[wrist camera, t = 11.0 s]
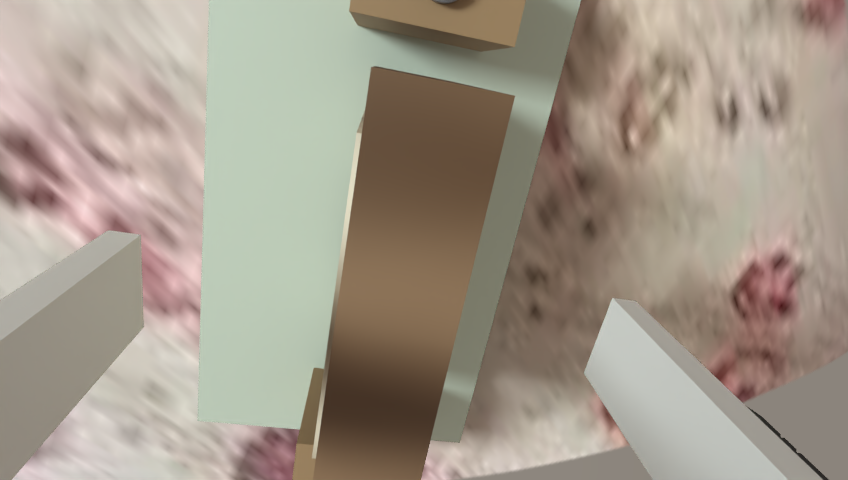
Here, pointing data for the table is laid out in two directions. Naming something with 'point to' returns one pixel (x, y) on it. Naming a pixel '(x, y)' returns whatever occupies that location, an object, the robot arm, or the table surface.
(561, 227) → the table surface
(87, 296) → the robot arm
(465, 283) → the wooden frame
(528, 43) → the wall board
